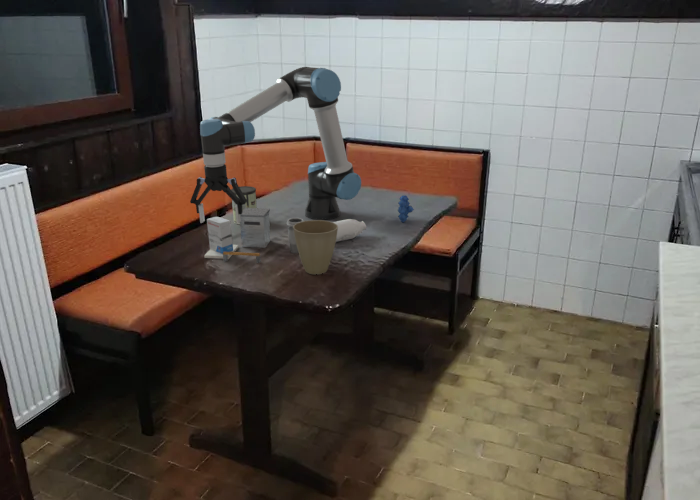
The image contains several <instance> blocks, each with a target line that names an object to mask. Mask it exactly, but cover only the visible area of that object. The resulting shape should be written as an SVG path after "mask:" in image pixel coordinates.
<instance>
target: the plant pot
mask: <svg viewBox="0 0 700 500" xmlns="http://www.w3.org/2000/svg"><path fill="white" fill-rule="evenodd" d="M333 222H334V221H330V220H325V219H311V220H304V221H303V222H299V223H297V224H295V225H294V226H293V229H294V235H295V240H296V245H297V248H298V252H299V253H298V255H299V258H300V261H301V264H302V266H303V269H304V270H305V272H306V273H307V274H309V275H316V274H317V275H322V273H323V274H326V273H327V271H328V270H329V266H330V264H331V261H332V258H333V255H334V251H335V246H336V243H337V242H336V237H337V230H338V225H337V224H335V223H333Z"/></svg>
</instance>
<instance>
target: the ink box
mask: <svg viewBox="0 0 700 500" xmlns="http://www.w3.org/2000/svg"><path fill="white" fill-rule="evenodd" d="M231 223H232V222H231V220H229V219H226V218H223V217H219V216H213V217H210V218H207V219H206V226H207V233H208V242H209V250H210V249H212V250H214V251H217V252H220V253H222V254H223V252H230V251H233V245H234V243H233V233H232V225H231Z"/></svg>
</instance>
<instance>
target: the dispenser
mask: <svg viewBox="0 0 700 500" xmlns="http://www.w3.org/2000/svg"><path fill="white" fill-rule="evenodd" d="M270 210H271V209H270V208H245V209H244V210H243V212H242V214H240V217H241V222H240V236H241V237H240V239H241V247H242V248H261V249H263V248H266V247H267V246H268V244H269V243H270V242H271V231H270V229H271V228H270V227H271V226H270ZM227 255H232V256H248V257H249V256H254V257H255V258H256V259H255V261H256V264H261V253H260V252H241V251H240V252H239V251H235V252H223V259H222V260H223V262H224V263H225V262H226V263H227V262H228V260H229V259H228V256H227Z"/></svg>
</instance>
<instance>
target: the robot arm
mask: <svg viewBox="0 0 700 500" xmlns="http://www.w3.org/2000/svg"><path fill="white" fill-rule="evenodd" d="M340 92H342V83H341V79H340V77H339V75H337V73H336V72H335V71H333V70H331V69H327V68H325V67H320V68H319V67H310V66H303V67H302V66H301V67H298V68H296V69H293V70H292V71H290V72H288V73H286V74H285V75H283V76H281V77H279V78H278V79H276V81H275V83H273V85H271V86H270V87H268V88H265V90H262V91H261V92H259V93H258V94H256V95H254V96H252V97H251V98H249V99H247V100H246V101H244V102H243V103H241V104H239V105H237V106H236V107H233V108H232V109H231V110H229V111H227V112H226V113H223V114H222V115H220V116H212V117H209V118H208V119H203V120H202V121H200V123H199V124H200V125H199V129H200V130H199V131H200V132H199V133H200V134H199V135H200V139H201V148H202V149H201V150H202V160H203V164H204V167H203V169H204V176H205V177H204V178H203V177H202V176H199V177H197V179H196V186H195V188H194V191H193V193H192V196H191V198H190V204H194V205H195V207H196V209H195V210H196V214H198V215H199V222H200V224H202V223H204V222H205V221H206V220H205V209H204V203H202V202H203V200H204V199H205V198H206V196H207V194H209V192H210V191H212V192H216V191H217V192H221V191H223V192H224V193H225V194H226V195H227V196H228V197H229V198H230V199H231V201H232V200H233V201H234V202H235V203H236V204H237V205H236V206H235V210H236V221H237V224H236V225H239V223H240V222H241V217H240V214H242V212H243V210H242V205H243V204H245V203H246V202H247V200H246V198H245V196H244V195H243V193H242V191H241V189H240V188H239V187H240V186H239V184H238V182H237V178H236V177H235V176H234V177H232V178H228V173H227V164H226V163H227V161H226V152H225V147H228V146H231V145H232V146H234V145H235V146H236V145H241V144H246V143H250V142H252V141H253V140H254V139H255V138H256V130H255V127H254V124H253V123H252V122H254V121H255V120H256V119H259V118H260V117H262V116H264V115H265V114H267V113H268V112H270V111H271V110H273V109H275V108H277V107H279V106H280V105H281V104H284V103H285V102H288V103H290V102H292V101H293V100H296V99H299V98H306V100H307V105H308V108H309V109H312V110H313V113H314V117H315V121H316V125H317V129H318V133H319V136H320V142H321V146H322V150H323V154H324V158H325V161H321V162H320V161H319V162H313V163H311V164H309V165H308V168H307V176H308V177H307V179H308V181H307V182H308V185H307V186H308V199H307V203H306V206H305V209H304V210H305V211H304V214H305V217H307V218H309V219H311V220H331V219H335V218H337V217H339V216H340V207H339V204H338V200H345V201H348V200H349V201H351V200H352V199H354V198H356V196H357V195H358V194H359V192H360V191H361V187H362V177H361V176H360V175H359V174H358V173H357V172H355V171H354V167H353V163H352V162H350V161H349V160H348V156H347V152H346V148H345V143H344V138H343V134H342V129H341V125H340V121H339V116H338V111H337V107H336V106H337V104H338V103H339V97H340V94H341V93H340ZM203 184H205V185H206V187H205V189H204V191H203V192H202V194H200V190H201V188H202V186H203ZM228 184H229V185H231V187H232V188H231V187H230V186H229V185H228ZM231 189H234V191H235V192H236V194H237V196H238V197H239V198H238V197H237V196H236V195H235V194H234V193H233V192H232V190H231ZM199 194H200V196H199ZM198 196H199V197H198ZM337 198H338V200H337Z"/></svg>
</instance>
